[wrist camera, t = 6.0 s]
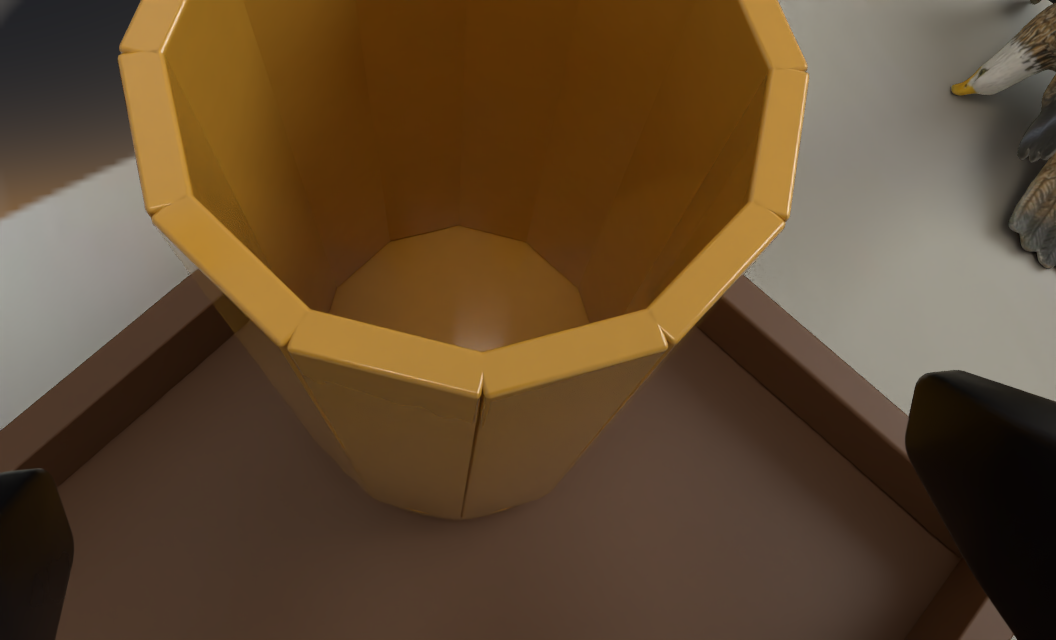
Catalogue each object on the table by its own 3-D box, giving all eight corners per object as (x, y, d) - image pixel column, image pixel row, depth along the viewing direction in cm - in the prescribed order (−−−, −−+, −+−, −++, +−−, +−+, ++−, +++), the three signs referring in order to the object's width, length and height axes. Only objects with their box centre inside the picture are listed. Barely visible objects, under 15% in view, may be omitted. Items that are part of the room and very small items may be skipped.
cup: (671, 361, 20) (929, 71, 9) (460, 589, 18) (485, 551, 7) (457, 170, 21) (470, -282, 10) (236, 364, 19) (-28, 46, 8)
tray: (986, 560, 20) (1069, 552, 17) (402, 1403, 14) (393, 1582, 12) (470, 108, 22) (473, 40, 20) (-192, 673, 17) (-309, 683, 14)
